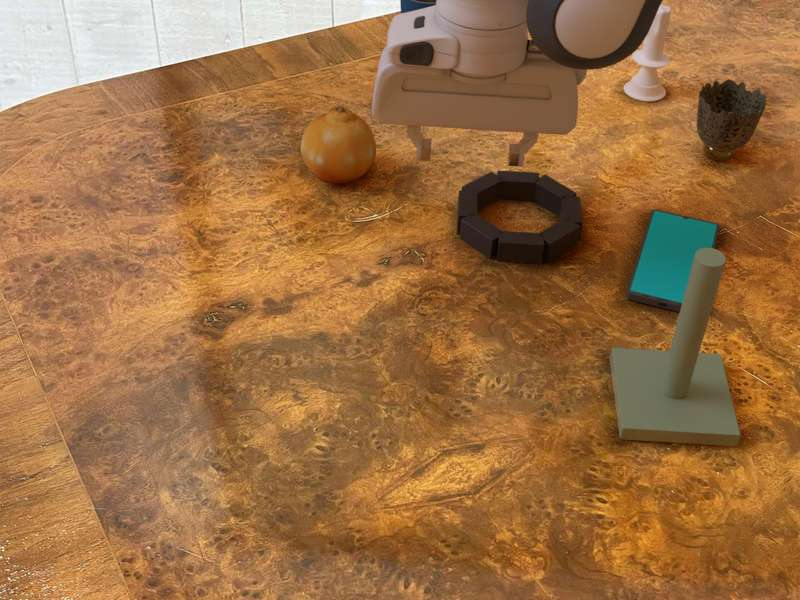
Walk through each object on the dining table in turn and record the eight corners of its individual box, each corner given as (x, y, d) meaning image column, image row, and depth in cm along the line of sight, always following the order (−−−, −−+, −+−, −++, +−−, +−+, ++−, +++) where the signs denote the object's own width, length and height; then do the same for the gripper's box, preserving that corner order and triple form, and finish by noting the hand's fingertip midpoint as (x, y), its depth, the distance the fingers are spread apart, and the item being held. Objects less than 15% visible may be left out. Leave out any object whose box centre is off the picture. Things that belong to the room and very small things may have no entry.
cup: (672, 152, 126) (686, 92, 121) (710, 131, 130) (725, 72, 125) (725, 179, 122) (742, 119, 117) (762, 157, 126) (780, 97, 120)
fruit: (354, 122, 125) (328, 84, 118) (399, 158, 121) (375, 119, 114) (305, 172, 124) (276, 136, 117) (349, 209, 120) (322, 174, 113)
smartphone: (626, 292, 105) (652, 208, 116) (624, 298, 105) (650, 214, 116) (701, 310, 103) (721, 224, 114) (699, 317, 104) (719, 230, 114)
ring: (574, 193, 119) (577, 174, 118) (582, 266, 109) (586, 247, 108) (458, 186, 119) (459, 168, 118) (456, 259, 110) (457, 239, 108)
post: (717, 365, 99) (761, 222, 88) (736, 447, 91) (788, 301, 80) (609, 358, 99) (640, 215, 88) (619, 439, 92) (655, 294, 81)
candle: (669, 102, 135) (688, 14, 127) (627, 101, 135) (643, 13, 127) (661, 81, 139) (679, -6, 131) (620, 80, 139) (636, -7, 131)
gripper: (588, 28, 103) (568, 150, 112) (376, 15, 103) (373, 138, 112) (594, 60, 98) (572, 184, 107) (371, 46, 98) (369, 171, 107)
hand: (469, 160), depth 109 cm, fingers open, 8 cm apart
